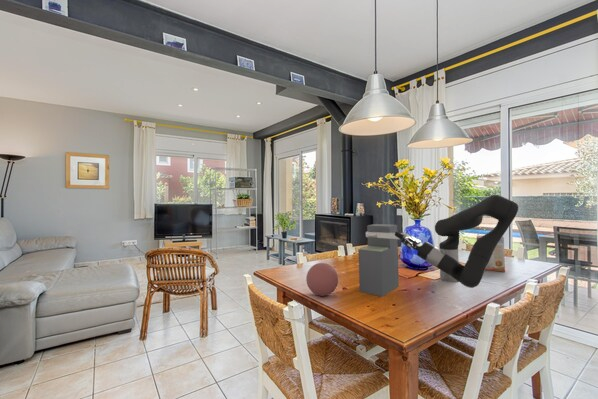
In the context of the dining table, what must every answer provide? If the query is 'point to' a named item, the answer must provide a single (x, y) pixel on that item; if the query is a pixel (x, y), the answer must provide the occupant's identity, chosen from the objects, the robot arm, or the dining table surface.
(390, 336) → the dining table surface
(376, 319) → the dining table surface
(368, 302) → the dining table surface
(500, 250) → the cracker box
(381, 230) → the stepped shelf
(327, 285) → the mauve oval ball
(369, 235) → the flanged bar
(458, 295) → the dining table surface
